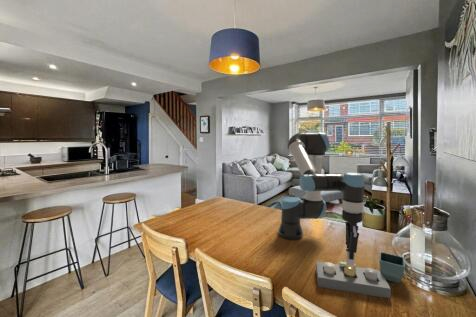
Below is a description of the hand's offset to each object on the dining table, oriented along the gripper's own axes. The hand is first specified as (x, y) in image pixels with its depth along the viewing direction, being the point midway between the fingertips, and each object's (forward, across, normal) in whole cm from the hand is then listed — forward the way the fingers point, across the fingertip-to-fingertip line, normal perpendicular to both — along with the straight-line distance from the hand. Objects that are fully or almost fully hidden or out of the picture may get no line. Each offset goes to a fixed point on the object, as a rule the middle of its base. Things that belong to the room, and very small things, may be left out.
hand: (350, 264), depth 91 cm
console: (+8, 0, 0) cm, 8 cm away
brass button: (+6, 0, 0) cm, 6 cm away
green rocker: (+4, +4, 0) cm, 6 cm away
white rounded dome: (+6, 0, -8) cm, 10 cm away
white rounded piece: (+6, 0, +8) cm, 10 cm away
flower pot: (+8, +8, -18) cm, 21 cm away
